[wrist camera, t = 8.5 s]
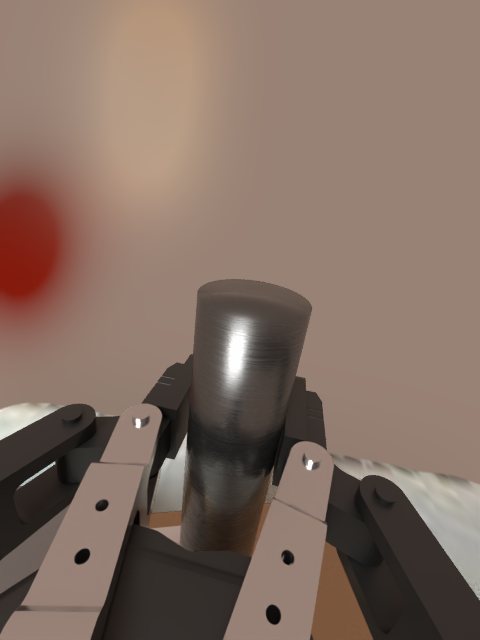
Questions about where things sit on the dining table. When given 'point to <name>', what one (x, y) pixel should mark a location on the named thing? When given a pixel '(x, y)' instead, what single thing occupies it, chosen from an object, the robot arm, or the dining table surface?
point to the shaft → (237, 409)
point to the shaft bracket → (333, 589)
